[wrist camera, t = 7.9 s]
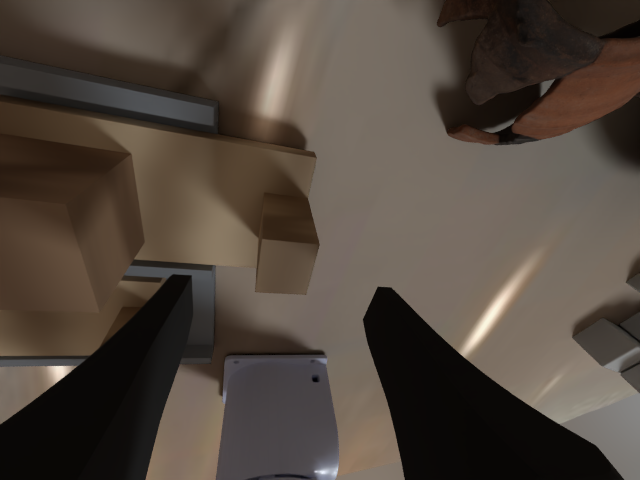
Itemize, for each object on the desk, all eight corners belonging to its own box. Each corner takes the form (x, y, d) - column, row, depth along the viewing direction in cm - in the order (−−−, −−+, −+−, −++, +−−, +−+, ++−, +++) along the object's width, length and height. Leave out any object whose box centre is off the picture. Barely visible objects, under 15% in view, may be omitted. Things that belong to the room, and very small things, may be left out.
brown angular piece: (314, 151, 15) (332, 195, 10) (291, 261, 19) (297, 325, 14) (1, 94, 11) (-167, 123, 7) (55, 242, 15) (-30, 318, 11)
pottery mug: (392, 147, 16) (450, 86, 8) (420, -27, 15) (519, -301, 7) (599, 172, 16) (878, 134, 8) (643, -6, 15) (1029, -273, 7)
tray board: (218, 101, 13) (213, 107, 12) (213, 347, 24) (210, 363, 22) (-329, -14, 9) (-423, -24, 8) (-40, 347, 19) (-60, 367, 18)
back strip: (165, 272, 18) (131, 345, 13) (173, 343, 22) (149, 417, 17) (-117, 254, 14) (-285, 344, 10) (-46, 342, 18) (-143, 433, 14)
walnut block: (131, 153, 13) (65, 204, 8) (144, 242, 15) (99, 312, 11) (-6, 132, 11) (-160, 179, 7) (35, 232, 14) (-61, 308, 10)
